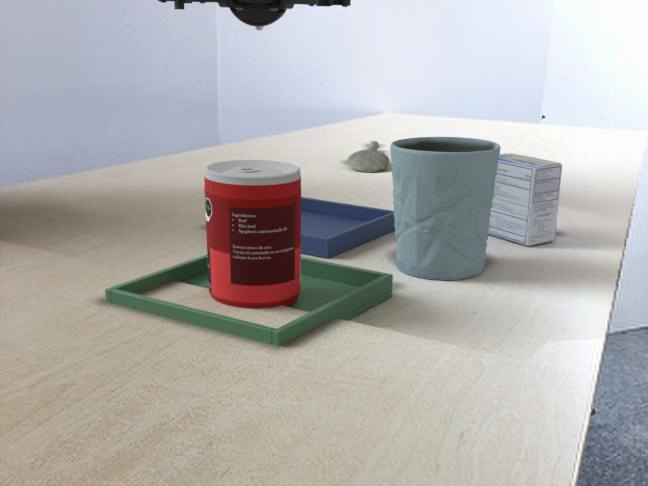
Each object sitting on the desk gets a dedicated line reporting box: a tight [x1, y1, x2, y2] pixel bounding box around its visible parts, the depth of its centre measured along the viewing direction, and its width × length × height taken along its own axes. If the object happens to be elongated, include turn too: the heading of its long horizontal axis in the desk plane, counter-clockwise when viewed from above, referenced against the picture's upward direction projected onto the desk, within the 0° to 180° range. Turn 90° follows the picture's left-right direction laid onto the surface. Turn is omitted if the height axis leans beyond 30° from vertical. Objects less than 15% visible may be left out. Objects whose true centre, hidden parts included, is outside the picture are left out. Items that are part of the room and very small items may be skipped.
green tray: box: [104, 254, 394, 347], centre depth 72 cm, size 17×17×2 cm
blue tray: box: [301, 196, 395, 259], centre depth 95 cm, size 15×15×2 cm
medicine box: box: [488, 152, 563, 247], centre depth 94 cm, size 8×4×9 cm, turn 34°
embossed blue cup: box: [389, 136, 501, 281], centre depth 81 cm, size 10×10×12 cm
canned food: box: [203, 159, 302, 309], centre depth 70 cm, size 8×8×11 cm
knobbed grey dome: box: [347, 140, 390, 173], centre depth 140 cm, size 22×3×7 cm
